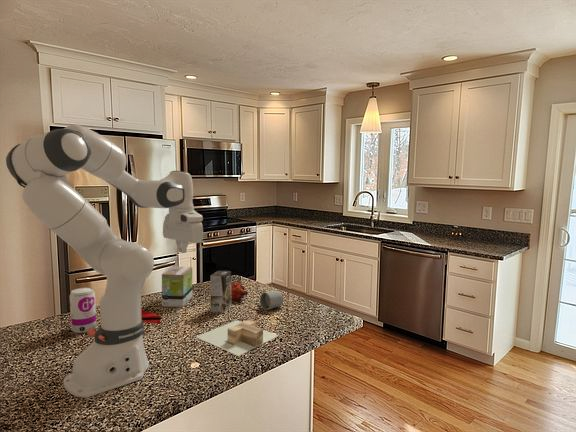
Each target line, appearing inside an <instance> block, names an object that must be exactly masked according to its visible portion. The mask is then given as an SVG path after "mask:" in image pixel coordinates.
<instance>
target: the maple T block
mask: <svg viewBox="0 0 576 432" xmlns="http://www.w3.org/2000/svg"><path fill="white" fill-rule="evenodd" d="M242 322H243V323H240V324H238V325H235V326H233V327H231V328H228V342H231V343H233V344H236V343H238V342H240V341H242V340H243V341H245V342H248V343H250V344H253V345H255V346H257V345H259V344H261V343H263V330H264V329H262V328H259V327H257V326H258V325H257V324H258V321H255V320H252V319H248V320H245V321H242ZM263 344H264V343H263ZM261 345H262V344H261ZM259 346H260V345H259ZM257 347H258V346H257Z"/></svg>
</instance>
